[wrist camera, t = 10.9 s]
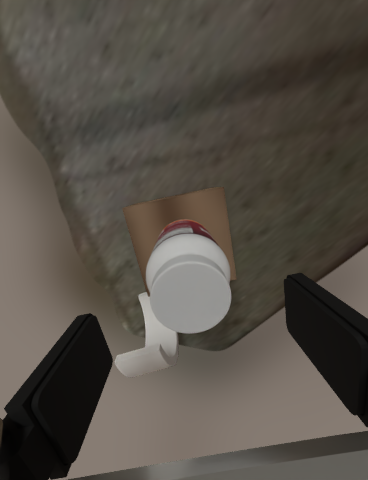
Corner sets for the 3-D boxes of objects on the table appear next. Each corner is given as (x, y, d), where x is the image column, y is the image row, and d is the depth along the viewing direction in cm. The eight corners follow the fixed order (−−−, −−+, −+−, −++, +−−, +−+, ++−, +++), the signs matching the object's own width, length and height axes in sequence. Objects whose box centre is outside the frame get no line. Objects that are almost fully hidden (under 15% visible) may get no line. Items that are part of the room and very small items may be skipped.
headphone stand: (166, 285, 29) (159, 350, 17) (178, 316, 31) (179, 394, 19) (139, 294, 29) (113, 362, 18) (152, 324, 31) (136, 405, 19)
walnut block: (213, 187, 25) (223, 187, 19) (224, 260, 28) (236, 279, 22) (134, 203, 26) (122, 208, 20) (154, 274, 28) (148, 296, 23)
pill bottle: (218, 260, 22) (257, 328, 11) (168, 277, 22) (160, 358, 11) (201, 209, 20) (228, 232, 9) (148, 228, 20) (117, 271, 10)
